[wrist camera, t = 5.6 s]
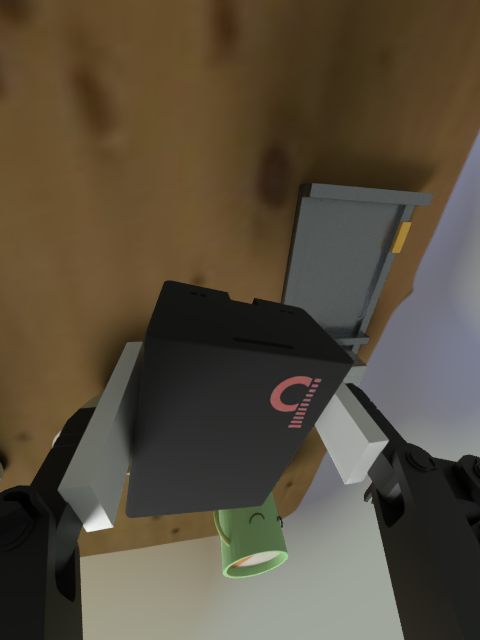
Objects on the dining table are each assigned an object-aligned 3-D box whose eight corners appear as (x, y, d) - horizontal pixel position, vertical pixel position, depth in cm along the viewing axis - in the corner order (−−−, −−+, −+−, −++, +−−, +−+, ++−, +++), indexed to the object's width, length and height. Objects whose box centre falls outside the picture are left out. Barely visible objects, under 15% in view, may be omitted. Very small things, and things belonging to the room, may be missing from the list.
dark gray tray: (300, 184, 20) (331, 180, 15) (415, 194, 22) (474, 193, 17) (266, 390, 32) (278, 422, 28) (342, 383, 34) (365, 412, 30)
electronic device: (144, 425, 15) (123, 519, 10) (165, 277, 10) (143, 334, 6) (246, 428, 17) (264, 506, 13) (302, 306, 12) (359, 364, 8)
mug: (278, 468, 44) (302, 551, 34) (245, 494, 47) (258, 577, 36) (229, 453, 39) (241, 546, 28) (195, 483, 42) (195, 578, 31)
